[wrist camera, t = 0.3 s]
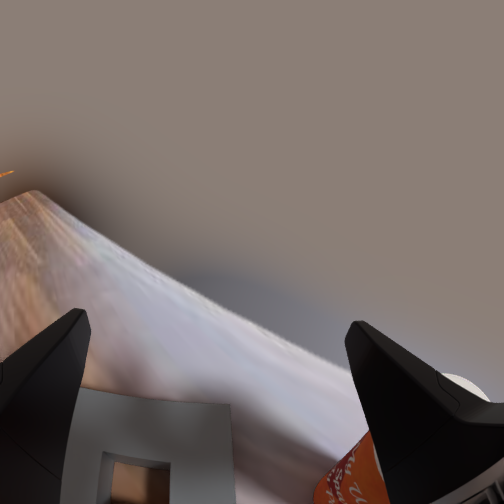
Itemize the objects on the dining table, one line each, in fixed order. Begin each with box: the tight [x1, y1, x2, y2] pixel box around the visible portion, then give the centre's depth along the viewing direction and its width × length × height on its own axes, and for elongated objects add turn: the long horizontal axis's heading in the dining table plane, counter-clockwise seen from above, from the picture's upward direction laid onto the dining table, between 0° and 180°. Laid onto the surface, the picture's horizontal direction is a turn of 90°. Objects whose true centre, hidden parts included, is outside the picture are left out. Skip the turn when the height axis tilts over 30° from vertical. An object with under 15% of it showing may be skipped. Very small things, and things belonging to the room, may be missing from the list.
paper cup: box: [313, 373, 490, 504], centre depth 11 cm, size 8×8×14 cm
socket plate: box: [60, 387, 236, 504], centre depth 13 cm, size 16×14×3 cm
